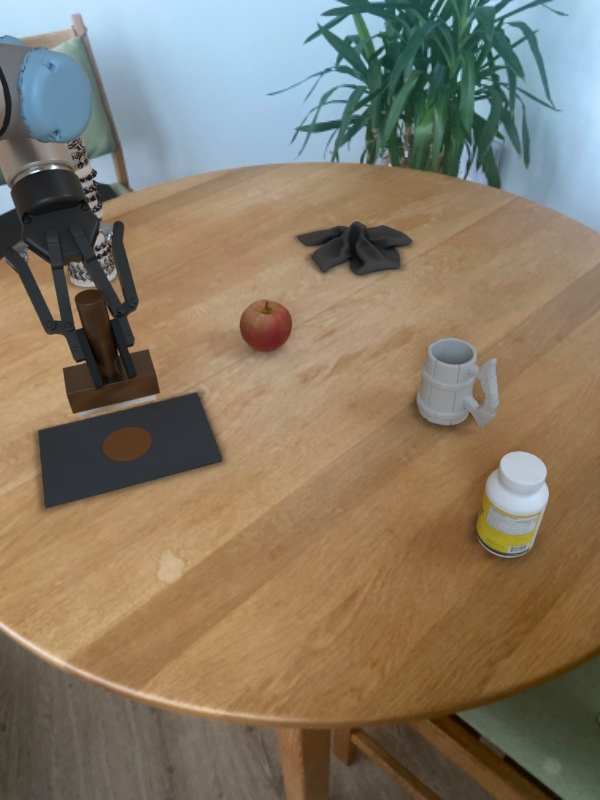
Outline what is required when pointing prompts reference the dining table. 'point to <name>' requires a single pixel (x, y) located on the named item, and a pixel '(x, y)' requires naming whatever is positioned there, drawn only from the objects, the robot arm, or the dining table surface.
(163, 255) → the dining table surface
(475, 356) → the mug
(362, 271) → the cloth
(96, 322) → the scrub brush
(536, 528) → the pill bottle
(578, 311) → the dining table surface
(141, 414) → the stain mat
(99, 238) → the decorative candle
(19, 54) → the robot arm
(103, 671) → the dining table surface
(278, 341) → the apple
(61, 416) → the dining table surface
